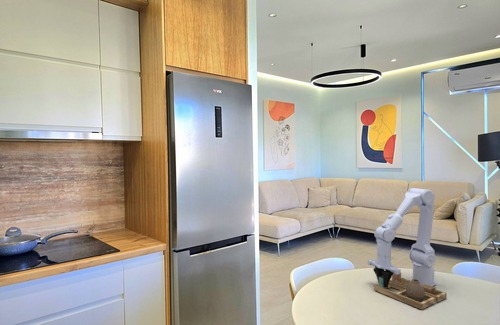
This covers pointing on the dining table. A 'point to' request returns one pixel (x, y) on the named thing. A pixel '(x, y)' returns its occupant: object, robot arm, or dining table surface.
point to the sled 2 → (440, 295)
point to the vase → (415, 291)
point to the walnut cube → (429, 289)
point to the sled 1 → (403, 294)
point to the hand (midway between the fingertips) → (383, 285)
